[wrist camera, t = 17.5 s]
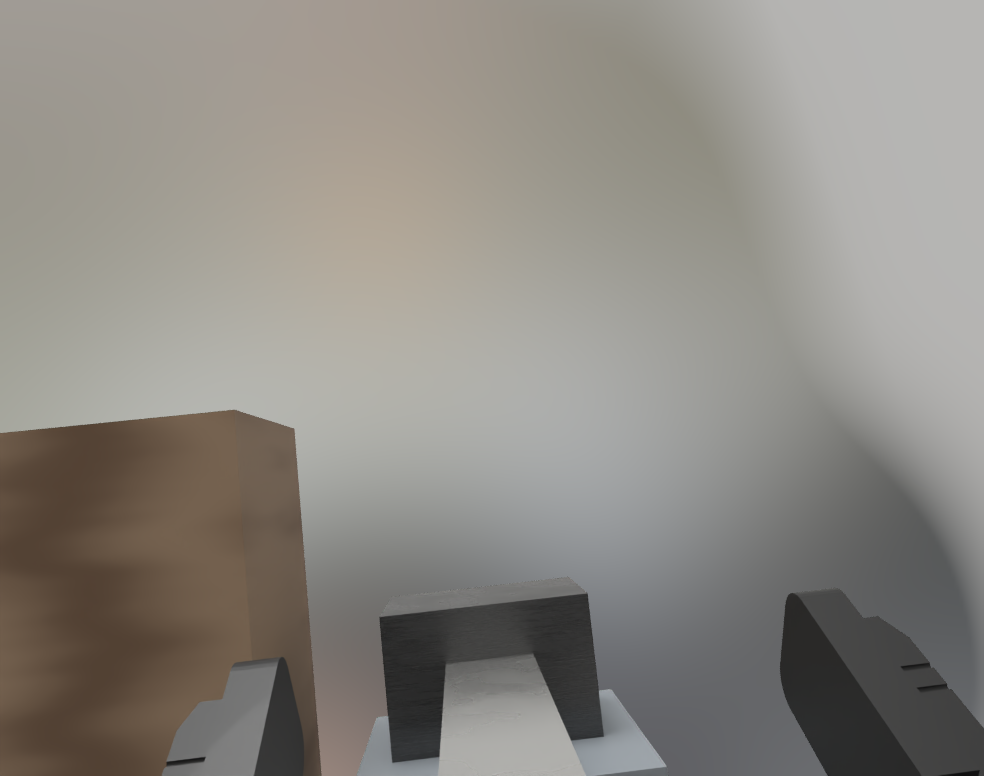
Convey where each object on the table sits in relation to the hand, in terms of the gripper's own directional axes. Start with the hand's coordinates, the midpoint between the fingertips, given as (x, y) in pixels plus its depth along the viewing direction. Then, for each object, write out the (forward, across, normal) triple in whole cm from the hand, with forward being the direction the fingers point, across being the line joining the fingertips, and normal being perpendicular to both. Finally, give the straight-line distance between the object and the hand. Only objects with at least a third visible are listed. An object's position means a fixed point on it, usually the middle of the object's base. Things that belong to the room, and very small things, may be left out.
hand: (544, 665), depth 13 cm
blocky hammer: (+3, -1, -7) cm, 8 cm away
